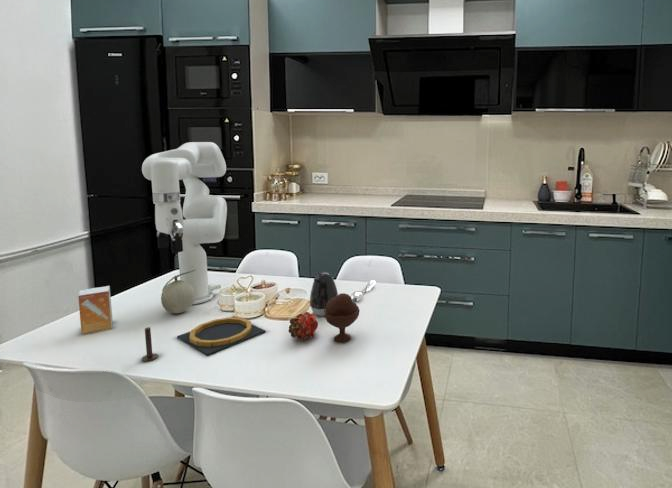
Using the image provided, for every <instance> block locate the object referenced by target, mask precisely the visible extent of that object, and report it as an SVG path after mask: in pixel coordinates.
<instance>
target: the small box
mask: <svg viewBox="0 0 672 488" xmlns="http://www.w3.org/2000/svg"><path fill="white" fill-rule="evenodd" d="M77 297H78V307H79V308H78V310H79V321H80V332H81V335H85V334H89V333H94V332H99V331H105V330H111V329H112V328H113V312H112V311H113V310H112V298H111V286H110V285H106V286H105V285H104V286H100V287H99V286H98V287H92V288H86V289H80V290H79V292H78V296H77Z"/></svg>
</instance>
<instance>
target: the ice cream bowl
mask: <svg viewBox="0 0 672 488" xmlns="http://www.w3.org/2000/svg"><path fill="white" fill-rule="evenodd" d="M324 313H325V316H324V317H325V320H326V322H327V323H328V324H329V325H330V326H332V327H334V328H337V329H339V330H338V331H339V333H338V334H336V335H335V336H334V337H333V342H334V343H337V344H346V343H350V341H352V337H351V335H350V334H348V333H346V328H348V327H349V326H352V324H353V323H355V322H356V320H358V318H359V315H360V307H359V306H358V305H357V302H353V301H352V298H351V295H350V294H348V293H338V296H336V297H333V298H332V299H330V300H329V301H328V303H327V305H326V309H325V310H324Z"/></svg>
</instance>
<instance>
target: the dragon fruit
mask: <svg viewBox="0 0 672 488" xmlns="http://www.w3.org/2000/svg"><path fill="white" fill-rule="evenodd" d="M318 327H319V322H318V320H317V318H316V314H314V313H310V312H309V311H305V312H304V313H299V314H297V315H296V316H295V317H294V318H291V319H289V326H288V330H287V331H288V333H289V334H290V337H291V338H297V341H304V340H305V339H306V338H308V339H312V338H314V336H315V334H314V333H315V332H316V330H317V329H318Z"/></svg>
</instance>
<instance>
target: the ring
mask: <svg viewBox="0 0 672 488" xmlns="http://www.w3.org/2000/svg"><path fill="white" fill-rule="evenodd" d="M235 317H236V316H234V317H233V316H230V317H222V318H216V319H215V318H214V319H212V320H210V321H206V322H203V323H201V324H198V325H197V326H195V327H194V328H193V329H191V330H190V331H189V332H190V336H189V341H190V342H191V343H193V344H195V345H196V346H206V347H212V346H213V347H214V346H220V345H226V344H229V343H233V342H235V341H238V340H240V339H243V338H245V337H246V336H247V335H248V334H249V333H250V332H251V331H252V327H251V324H252V321H251V320H250V319H249V320H248V319H247V318H244V317H237V318H235ZM224 323H240V324H242V325H245V326H247V328H246V329H245V330H243V331H242V332H241V333H239V334H237V335H234V336H232V337H229V338H225V339H219V340H200V339H199V338H197V337H195V336H196V334H197V333H199V332H200V331H202V330H203V329H205V328H208V327H211V326H214V325H218V324H224Z"/></svg>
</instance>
